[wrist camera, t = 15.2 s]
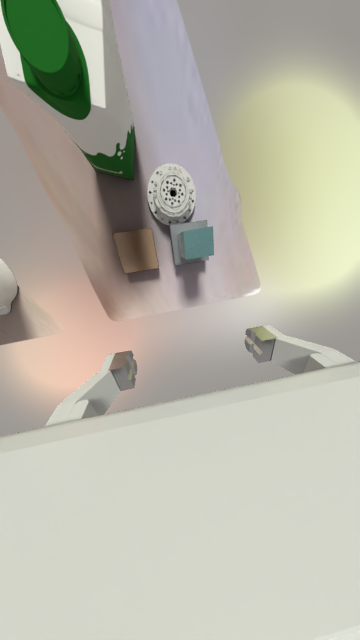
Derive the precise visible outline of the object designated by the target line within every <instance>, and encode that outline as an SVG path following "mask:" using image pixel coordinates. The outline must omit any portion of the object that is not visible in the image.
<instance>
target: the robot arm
mask: <svg viewBox="0 0 360 640" xmlns="http://www.w3.org/2000/svg"><path fill="white" fill-rule="evenodd" d="M16 294H17V282H16V279H15V277H14V275H13V273H12V271H11V270H10V268H9V267H8V266H7V265H6V263H4V261H3V260H2V259H1V258H0V315H5V314H8V313H10V311H11V302H12V301H13V299H14V298H15V296H16ZM246 335H247V337H246V339H245V345H246V348H247V350H248V351H249V352H251V353H253V357H254V358H255V359H256V360H257V361H258V363H260V362H266V361H271V362H273V363H275V364H277V365H279V366H281V367H282V368H284V369H286V370H288V371H290V372H292V373H294V374H295V375H291V376H286V377H281V378H277V379H272V380H267V381H262V382H257V383H252V384H248V385H243V386H238V387H233V388H228V389H223V390H219V391H214V392H209V393H205V394H200V395H195V396H190V397H185V398H180V399H176V400H171V401H166V402H161V403H156V404H152V405H147V406H143V407H137V408H132V409H128V410H123V411H118V412H113V413H108V414H105V412H106V411H107V409H108V408H109V407H110V406H111V404H112V403H113V402H114V400H115V399H116V398H117V396H118V395H119V394H120V392H121V391H122V390H127V389H131V388H134V386H135V380H136V379H135V375H136V374H137V364H136V361H135V360H134V359H133V353H132V351H126V352H120V353H114V354H109V355H107V357H106V359H105V361H104V363H103V365H102V367H101V370H100V372H99V373H96V374H95V375H94V376H93V377H91V378H90V379H89V380H88V381H86V382H85V383H84V384H83V385H82V386H80V387H79V388H78V389H77V390H76V391H74V393H72V394H71V395H70V396H68V397H67V398H66V399H65V400H64V401H62V402H61V403H60V404H59V405H58V406H57V408H56V410H55V411H54V413H53V414H52V416H51V418H50V419H49V421H48V422H47V424H46V425H45V427H41V428H36V429H32V430H27V431H22V432H17V433H12V434H7V435H3V436H0V640H360V361H358V362H355V361H354V360H352V359H350V358H349V357H347V356H345V355H344V354H342V353H340V352H338V351H337V350H335V349H332V348H329V347H325V346H321V345H318V344H314V343H311V342H307V341H303V340H300V339H296V338H293V337H289V336H284V335H283V334H281V333H280V332H279V331H277V330H276V329H274V328H273V327H272V326H270V325H263V326H260V327H254V328H249V329H247V330H246Z"/></svg>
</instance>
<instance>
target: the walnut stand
mask: <svg viewBox="0 0 360 640" xmlns="http://www.w3.org/2000/svg"><path fill="white" fill-rule="evenodd" d="M113 237H114V241H115V244H116V247H117V251H118V254H119V257H120V260H121V264H122V267H123V270H124V273H130V272H137V271H143V270H149V269H155V268H159V265H158V260H157V255H156V249H155V244H154V239H153V234H152V229H151V228H148V229H141V230H134V231H127V232H120V233H113Z"/></svg>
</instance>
